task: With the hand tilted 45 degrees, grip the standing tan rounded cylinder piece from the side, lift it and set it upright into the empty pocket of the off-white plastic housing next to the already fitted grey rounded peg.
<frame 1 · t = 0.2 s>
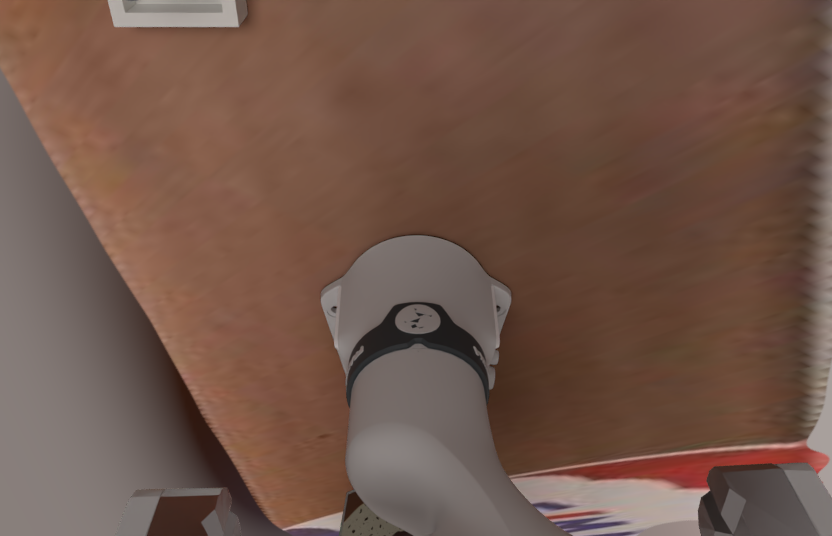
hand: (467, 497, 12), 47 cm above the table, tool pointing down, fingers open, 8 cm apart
food container: (391, 491, 86), on the table
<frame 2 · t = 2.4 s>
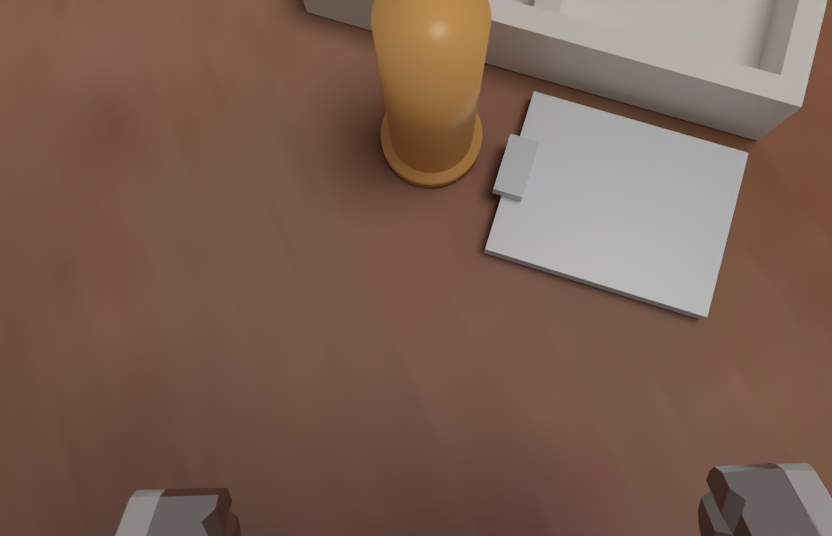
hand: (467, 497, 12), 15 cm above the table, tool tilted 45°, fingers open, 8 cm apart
lid: (612, 205, 28), on the table
tan rounded cylinder piece: (431, 140, 29), on the table
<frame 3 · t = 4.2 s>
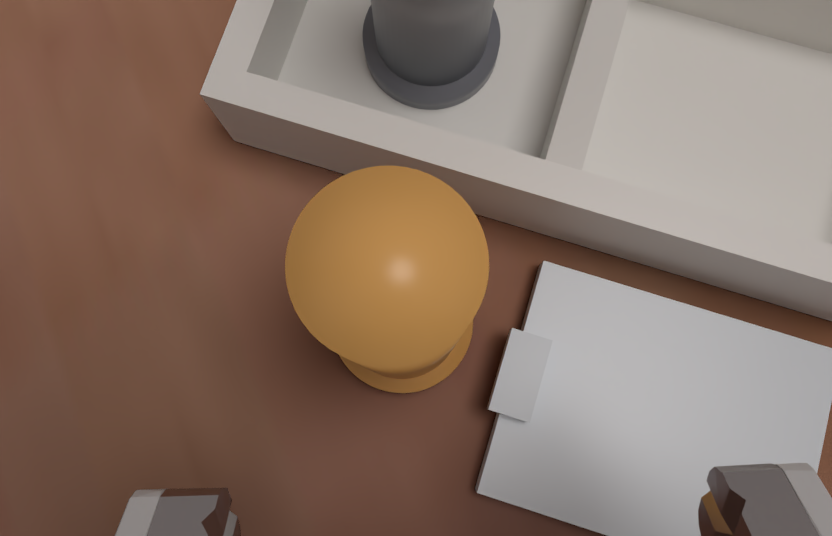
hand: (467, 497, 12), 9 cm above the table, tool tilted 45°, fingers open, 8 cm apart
housing: (570, 102, 22), on the table
lid: (653, 419, 20), on the table
grey rounded peg: (431, 47, 22), point 1 cm above the table, touching housing
tan rounded cylinder piece: (402, 323, 21), on the table
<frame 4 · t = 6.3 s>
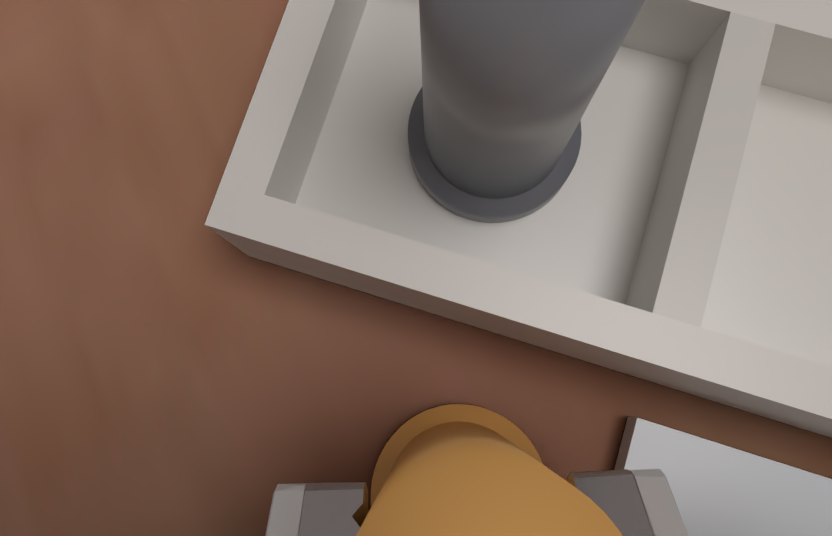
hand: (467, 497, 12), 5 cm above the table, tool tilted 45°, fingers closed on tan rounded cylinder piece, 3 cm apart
housing: (662, 206, 18), on the table
grey rounded peg: (491, 142, 17), point 1 cm above the table, touching housing
tan rounded cylinder piece: (458, 490, 17), on the table, touching gripper
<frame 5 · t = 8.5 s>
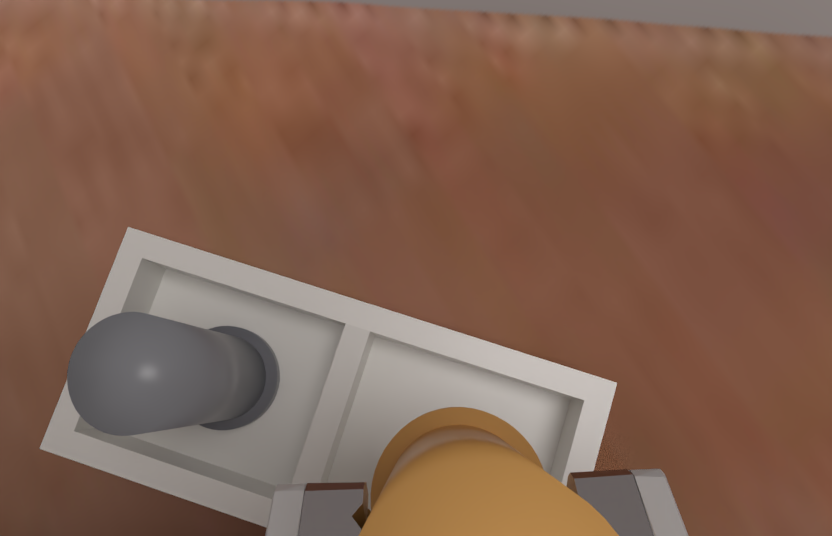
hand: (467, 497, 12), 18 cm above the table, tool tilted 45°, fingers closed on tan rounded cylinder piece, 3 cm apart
housing: (340, 412, 29), on the table
grey rounded peg: (229, 377, 29), point 1 cm above the table, touching housing
tan rounded cylinder piece: (458, 493, 17), point 12 cm above the table, touching gripper
when the fingers open (8 cm above the table, at t = 11.0 s): tan rounded cylinder piece drops 1 cm, resting on housing.
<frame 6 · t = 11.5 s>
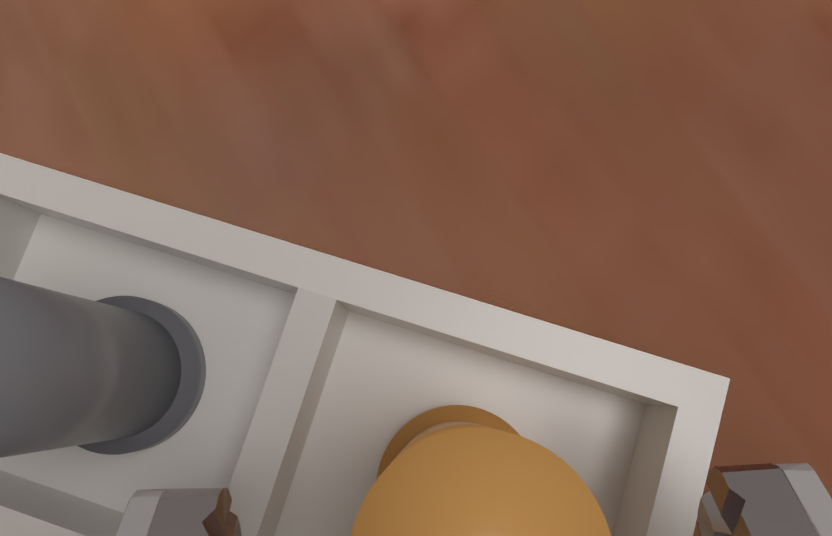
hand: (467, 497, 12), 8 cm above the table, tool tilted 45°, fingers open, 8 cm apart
housing: (298, 425, 20), on the table
grey rounded peg: (131, 374, 19), point 1 cm above the table, touching housing
tan rounded cylinder piece: (457, 485, 18), point 1 cm above the table, touching housing
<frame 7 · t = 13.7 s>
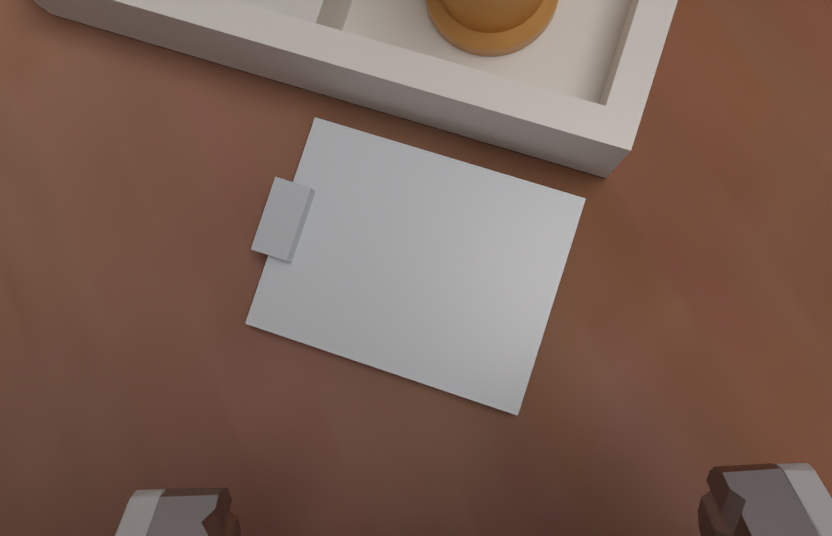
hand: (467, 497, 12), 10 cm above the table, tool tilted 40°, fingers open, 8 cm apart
lid: (415, 264, 22), on the table
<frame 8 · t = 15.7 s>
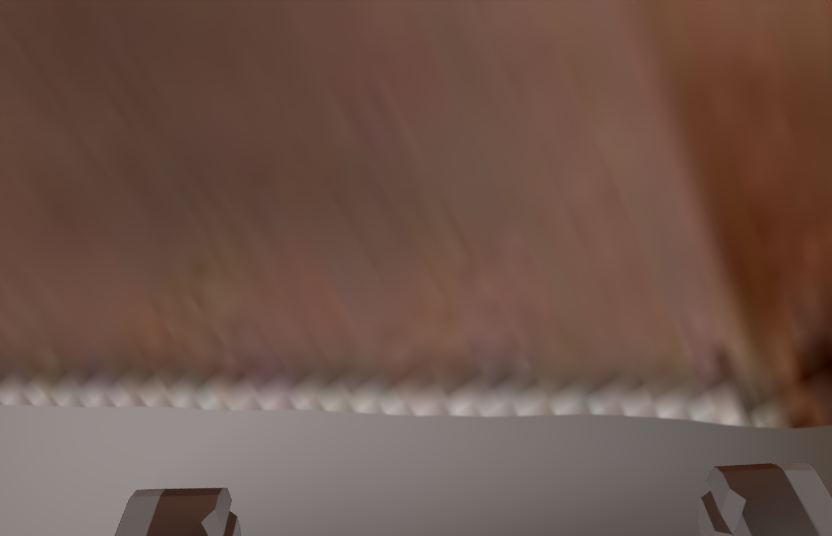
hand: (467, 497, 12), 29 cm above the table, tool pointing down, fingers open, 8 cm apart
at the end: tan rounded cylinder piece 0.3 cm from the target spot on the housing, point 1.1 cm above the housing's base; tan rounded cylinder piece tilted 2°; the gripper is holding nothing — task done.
